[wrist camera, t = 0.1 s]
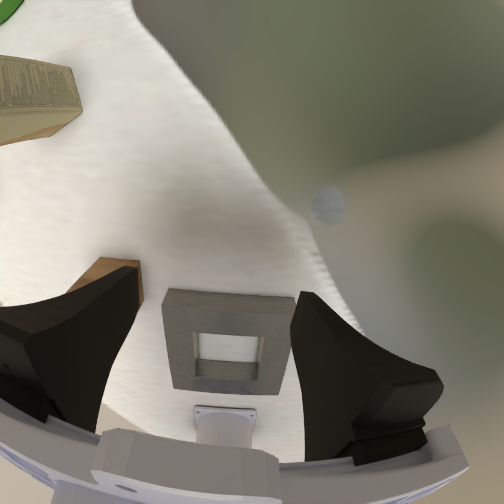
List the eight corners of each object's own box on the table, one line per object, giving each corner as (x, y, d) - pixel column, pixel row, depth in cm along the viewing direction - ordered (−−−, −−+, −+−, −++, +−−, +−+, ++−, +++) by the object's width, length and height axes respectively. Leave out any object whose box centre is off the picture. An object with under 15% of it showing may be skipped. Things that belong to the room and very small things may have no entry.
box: (38, 93, 15) (-53, 94, 5) (71, 66, 14) (-22, 47, 4) (50, 140, 17) (-47, 161, 7) (85, 114, 17) (-18, 117, 6)
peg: (144, 299, 23) (113, 361, 16) (106, 294, 23) (69, 349, 16) (139, 260, 22) (100, 316, 14) (100, 257, 22) (53, 306, 14)
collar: (276, 378, 28) (278, 395, 26) (177, 371, 27) (173, 388, 25) (294, 297, 24) (298, 314, 21) (168, 288, 23) (161, 305, 21)
